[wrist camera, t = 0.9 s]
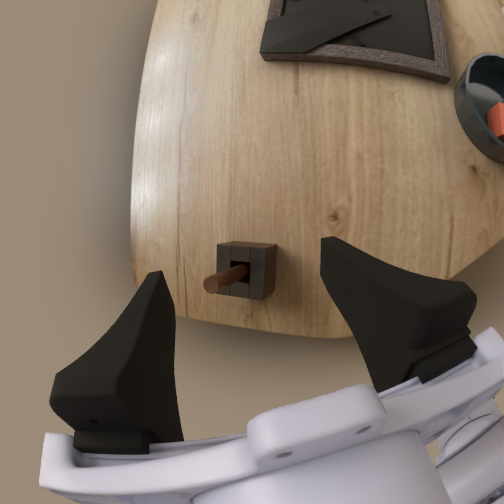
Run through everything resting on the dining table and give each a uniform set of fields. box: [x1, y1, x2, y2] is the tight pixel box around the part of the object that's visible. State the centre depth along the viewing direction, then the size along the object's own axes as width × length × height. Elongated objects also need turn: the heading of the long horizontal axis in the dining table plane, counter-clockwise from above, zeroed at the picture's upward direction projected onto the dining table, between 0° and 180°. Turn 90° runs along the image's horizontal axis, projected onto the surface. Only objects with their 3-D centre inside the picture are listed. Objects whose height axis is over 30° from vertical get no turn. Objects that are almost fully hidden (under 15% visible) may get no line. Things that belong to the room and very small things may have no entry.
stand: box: [216, 241, 277, 300], centre depth 30 cm, size 5×5×4 cm
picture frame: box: [259, 0, 451, 84], centre depth 23 cm, size 16×2×21 cm
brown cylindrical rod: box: [203, 262, 250, 294], centre depth 27 cm, size 1×1×10 cm
